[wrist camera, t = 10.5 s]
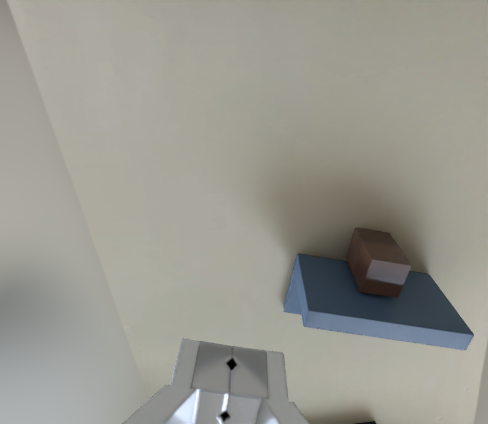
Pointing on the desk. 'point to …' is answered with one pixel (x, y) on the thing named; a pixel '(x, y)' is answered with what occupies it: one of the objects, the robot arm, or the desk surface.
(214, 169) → the desk surface
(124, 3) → the desk surface
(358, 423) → the book
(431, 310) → the bookend
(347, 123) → the desk surface
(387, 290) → the walnut block
